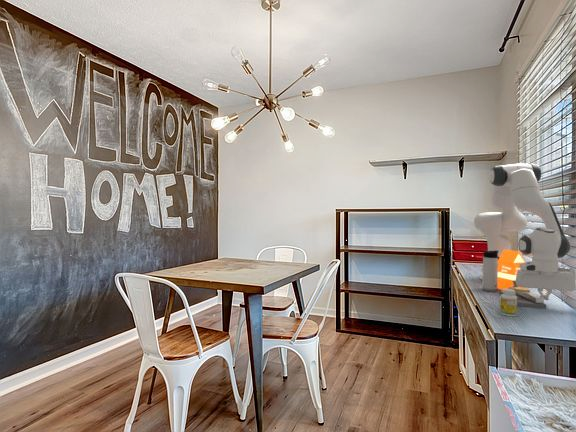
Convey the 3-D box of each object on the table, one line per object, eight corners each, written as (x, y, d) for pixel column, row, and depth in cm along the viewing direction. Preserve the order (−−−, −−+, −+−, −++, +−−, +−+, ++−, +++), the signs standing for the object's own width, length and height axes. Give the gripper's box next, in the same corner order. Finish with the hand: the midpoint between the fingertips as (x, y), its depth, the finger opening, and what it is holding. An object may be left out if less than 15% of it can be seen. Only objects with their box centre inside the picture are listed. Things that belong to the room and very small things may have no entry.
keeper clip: (508, 295, 152) (508, 286, 152) (526, 297, 150) (527, 288, 150) (510, 298, 148) (510, 288, 148) (529, 299, 146) (529, 290, 146)
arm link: (507, 291, 160) (508, 279, 160) (517, 291, 160) (518, 280, 160) (534, 303, 140) (534, 290, 140) (545, 303, 139) (546, 290, 139)
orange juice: (508, 287, 175) (509, 249, 175) (525, 291, 167) (526, 251, 166) (497, 288, 173) (497, 249, 172) (512, 292, 164) (513, 251, 164)
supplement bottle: (518, 317, 126) (519, 292, 126) (501, 315, 128) (502, 290, 128) (514, 313, 131) (515, 288, 131) (498, 311, 133) (499, 287, 133)
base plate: (499, 292, 164) (499, 289, 164) (529, 295, 159) (529, 292, 159) (512, 305, 142) (512, 301, 142) (546, 308, 138) (546, 305, 138)
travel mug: (499, 292, 165) (500, 251, 165) (485, 291, 166) (486, 251, 166) (494, 289, 171) (495, 250, 171) (480, 288, 172) (481, 249, 172)
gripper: (571, 267, 140) (571, 300, 141) (514, 264, 147) (514, 295, 148) (579, 269, 135) (578, 303, 135) (519, 266, 142) (518, 298, 142)
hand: (544, 299), depth 141 cm, fingers closed
